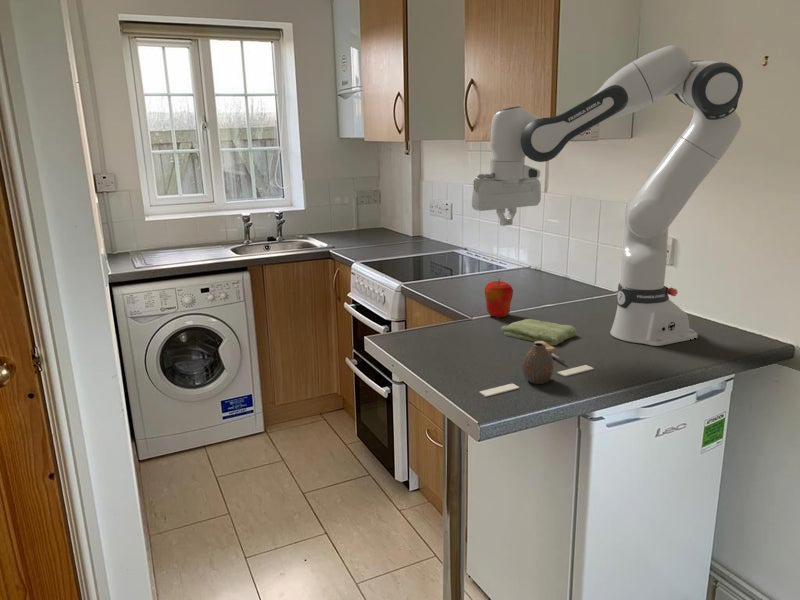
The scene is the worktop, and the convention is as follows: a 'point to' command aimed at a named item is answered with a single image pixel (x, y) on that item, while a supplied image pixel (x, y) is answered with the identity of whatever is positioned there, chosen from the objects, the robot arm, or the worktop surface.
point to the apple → (498, 298)
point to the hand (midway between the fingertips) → (506, 225)
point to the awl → (550, 350)
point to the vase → (538, 364)
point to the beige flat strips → (513, 387)
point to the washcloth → (539, 331)
